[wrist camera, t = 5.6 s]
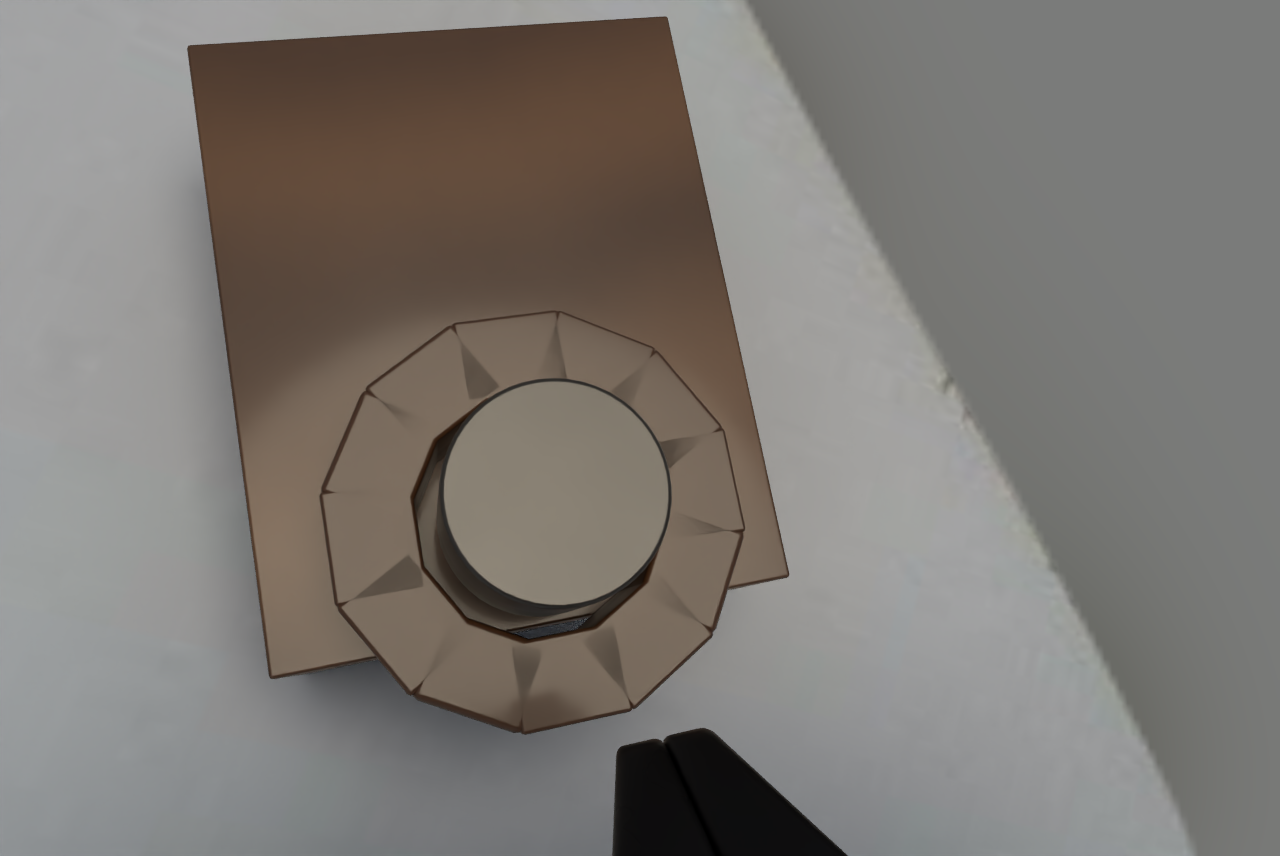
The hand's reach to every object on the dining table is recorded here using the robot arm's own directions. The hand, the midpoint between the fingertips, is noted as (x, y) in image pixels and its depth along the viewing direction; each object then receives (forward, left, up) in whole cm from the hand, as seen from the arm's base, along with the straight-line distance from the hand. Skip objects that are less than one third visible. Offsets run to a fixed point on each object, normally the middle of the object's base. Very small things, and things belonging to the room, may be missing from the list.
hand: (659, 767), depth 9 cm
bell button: (+3, +1, -5) cm, 6 cm away
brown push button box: (+6, +1, -11) cm, 13 cm away
